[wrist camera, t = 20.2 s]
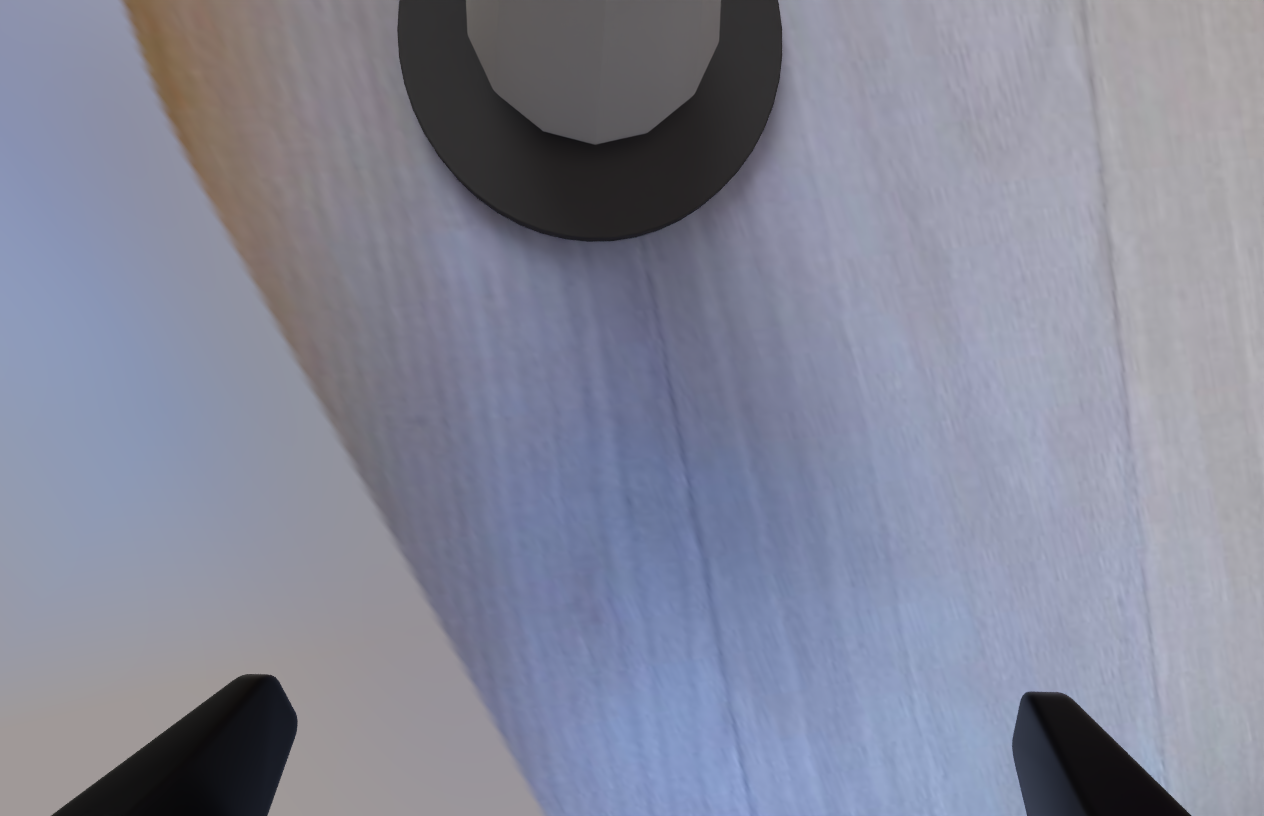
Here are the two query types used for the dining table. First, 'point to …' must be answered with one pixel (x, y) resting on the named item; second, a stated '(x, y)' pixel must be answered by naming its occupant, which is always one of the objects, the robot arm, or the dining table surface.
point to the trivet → (579, 171)
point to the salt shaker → (594, 60)
